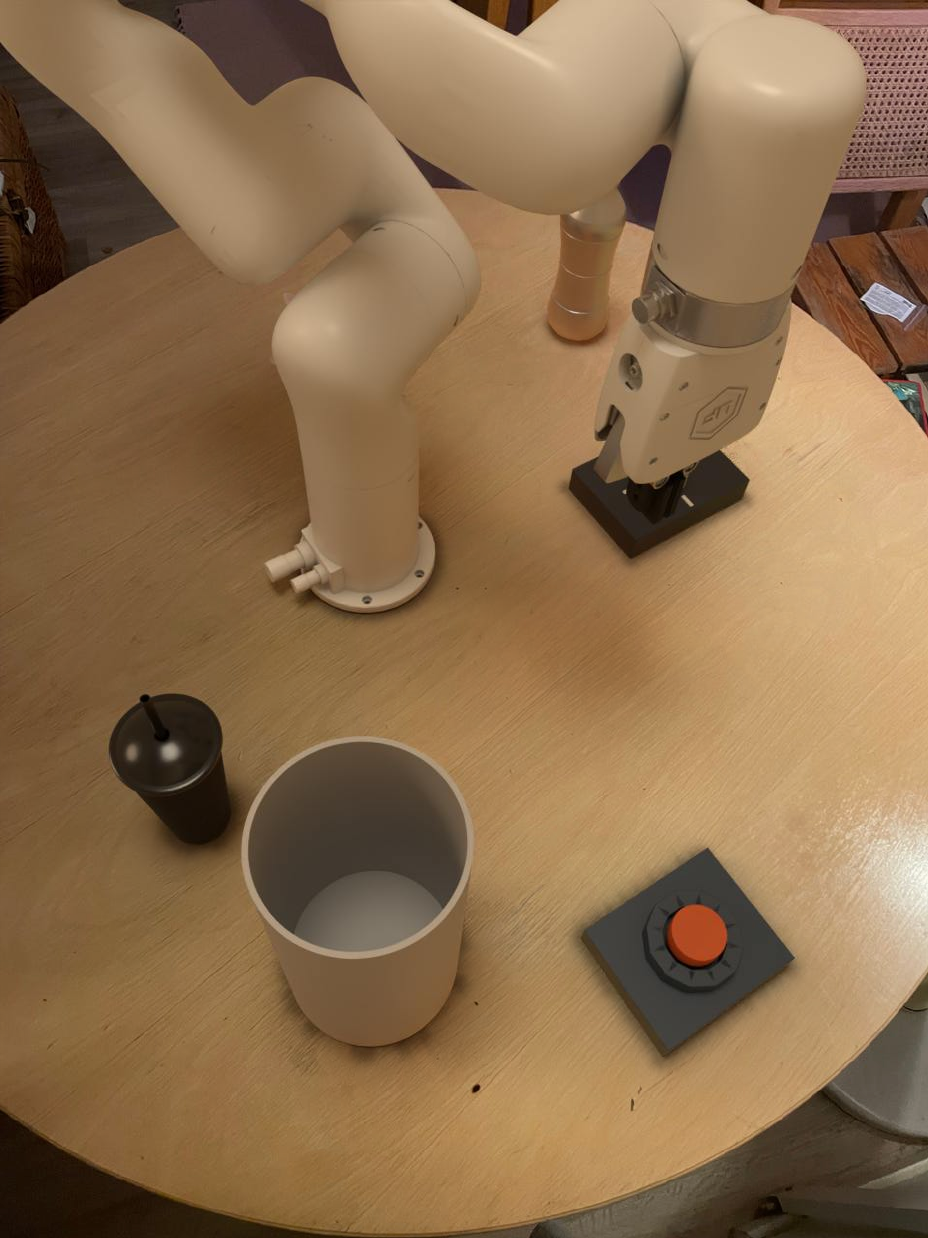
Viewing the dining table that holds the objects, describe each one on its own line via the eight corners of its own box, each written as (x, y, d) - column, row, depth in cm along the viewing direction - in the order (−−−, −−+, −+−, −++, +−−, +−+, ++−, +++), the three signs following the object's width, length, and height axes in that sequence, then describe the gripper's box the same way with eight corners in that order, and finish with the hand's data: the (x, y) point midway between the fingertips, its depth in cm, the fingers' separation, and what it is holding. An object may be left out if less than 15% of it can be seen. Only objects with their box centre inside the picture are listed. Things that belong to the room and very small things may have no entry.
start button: (690, 978, 74) (695, 972, 72) (655, 930, 76) (659, 923, 74) (732, 947, 75) (738, 941, 74) (697, 901, 77) (702, 894, 75)
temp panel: (630, 559, 98) (636, 539, 95) (568, 488, 102) (572, 467, 99) (742, 499, 102) (751, 478, 99) (678, 433, 106) (684, 412, 104)
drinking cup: (207, 881, 80) (150, 776, 63) (131, 829, 82) (56, 714, 65) (268, 802, 83) (230, 683, 66) (194, 755, 85) (139, 627, 68)
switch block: (662, 1057, 74) (674, 1047, 71) (580, 938, 79) (587, 923, 75) (786, 965, 78) (803, 951, 75) (701, 856, 82) (713, 839, 79)
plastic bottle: (607, 350, 113) (641, 187, 96) (545, 347, 112) (568, 184, 95) (603, 309, 116) (635, 145, 99) (543, 306, 116) (565, 141, 99)
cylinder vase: (267, 914, 79) (213, 782, 57) (420, 853, 82) (422, 706, 61) (321, 1078, 73) (283, 998, 52) (484, 1006, 76) (511, 902, 55)
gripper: (648, 382, 50) (592, 594, 65) (871, 277, 54) (769, 498, 70) (557, 290, 53) (525, 513, 68) (775, 199, 58) (698, 426, 73)
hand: (648, 505), depth 69 cm, fingers closed
